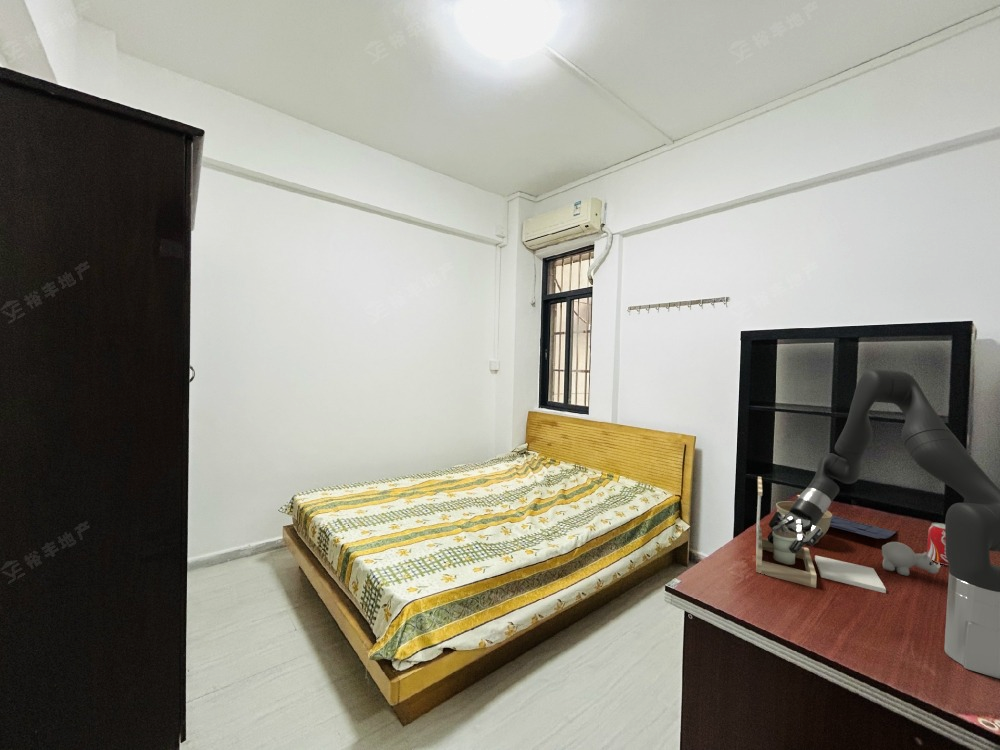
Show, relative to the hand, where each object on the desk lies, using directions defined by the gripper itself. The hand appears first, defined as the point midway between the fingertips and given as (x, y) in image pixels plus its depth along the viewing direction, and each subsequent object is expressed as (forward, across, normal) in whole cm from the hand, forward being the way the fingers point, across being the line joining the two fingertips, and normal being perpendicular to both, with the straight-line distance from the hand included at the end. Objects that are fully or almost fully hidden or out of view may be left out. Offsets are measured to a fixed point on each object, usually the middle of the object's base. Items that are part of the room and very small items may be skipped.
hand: (780, 546), depth 123 cm
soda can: (-36, +10, +45) cm, 58 cm away
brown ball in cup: (+2, 0, +4) cm, 5 cm away
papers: (-35, -17, +44) cm, 59 cm away
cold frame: (+3, 0, +6) cm, 6 cm away
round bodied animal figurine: (-21, +13, +30) cm, 38 cm away
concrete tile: (-7, +8, +16) cm, 19 cm away
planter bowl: (-16, -15, +25) cm, 33 cm away
